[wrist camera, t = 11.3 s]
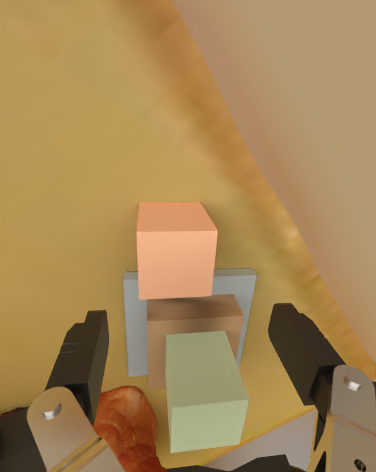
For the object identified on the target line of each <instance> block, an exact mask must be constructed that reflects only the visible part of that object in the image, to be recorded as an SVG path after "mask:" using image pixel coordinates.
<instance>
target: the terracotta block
mask: <svg viewBox="0 0 376 472" xmlns="http://www.w3.org/2000/svg"><path fill="white" fill-rule="evenodd" d="M136 233H137V260H138V287H139V300H144V299H165V298H185V297H205V296H211V294H212V284H213V274H214V264H215V254H216V245H217V235H218V230H217V229H216V227H215V225H214V224H213V222H212V220H211V219H210V217H209V215H208V214H207V212H206V210H205V209H204V207H203V205H202V204H201V202H139V210H138V221H137V231H136Z"/></svg>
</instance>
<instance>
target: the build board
mask: <svg viewBox="0 0 376 472" xmlns="http://www.w3.org/2000/svg"><path fill="white" fill-rule="evenodd" d="M256 278H257V275H256V273H255V272H254V270H253V269H252V268H247V269H214V274H213V284H212V294H211V295H221V294H234V297H235V299H236V301H237V303H238V305H239V307H240V309H241V311H242V313H243V315H244V318H243V323H242V329H241V334H240V340H239V346H238V351H237V357H236V363H237V366H238V367H240V362H241V357H242V352H243V346H244V341H245V336H246V331H247V325H248V320H249V315H250V309H251V304H252V299H253V294H254V288H255V283H256ZM123 290H124V306H125V323H126V340H127V357H128V374H129V377H133V376H144V375H148V357H147V299H144V300H139V287H138V272H124V276H123Z"/></svg>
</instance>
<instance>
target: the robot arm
mask: <svg viewBox="0 0 376 472" xmlns="http://www.w3.org/2000/svg"><path fill="white" fill-rule="evenodd" d="M268 333H269V338H270V341H271V343H272V345H273V346H274V348H275V350H276V352H277V354H278V356H279V358H280V360H281V362H282V364H283V366H284V368H285V370H286V371H287V373H288V375H289V377H290V379H291V381H292V383H293V385H294V387H295V389H296V391H297V393H298V395H299V396H300V398H301V400H302V402H303V404H304V406H306V405H315V406H316V408H317V413H316V418H315V425H314V433H313V440H312V448H311V455H310V461H309V465H308V469H307V472H376V382H373V381H371V380H370V379H369V377H368V376H367V375H365V374H364V373H363V372H362V371H360V370H358V369H357V368H354V367H352V366H348V365H346V364H345V362H344V361H343V360H342V359H341V357H340V356H339V355H338V353H337V352H336V351H335V349H334V348H333V347H332V346H331V344H330V343H329V342H328V340H327V339H326V338H324V335H323V334H322V333H321V331H319V329H318V327H317V326H316V325H315V324H314V322H313V321H312V320H311V319H309V318H308V317H307V316H305V315H304V314H303V313H299V312H298V311H297V310H296V308H295V307H294V306H293V304H291V303H278V304H274V306H273V310H272V314H271V318H270V323H269V327H268ZM108 346H109V332H108V322H107V312H106V310H97V311H88V313H87V316H86V319H85V323H75V324H74V325H73V327H72V328H71V329H70V330H69V331H68V332H67V334H66V336H65V339H64V342H63V345H62V347H61V349H60V354H59V355H58V357H57V360H56V362H55V365H54V368H53V370H52V373H51V376H50V378H49V381H48V383H47V386H46V388H45V390H44V392H42V393H41V394H40V395H38V396H37V397H36V398H35V399H34V400H33V402H32V403H31V405H30V406H29V407H27V408H25V409H23V410H21V411H19V412H16V413H14V414H11V415H8V416H6V417H3V418H0V472H125V471H124V469H123V468H122V466H121V465H120V463H119V461H118V460H117V458H116V456H115V455H114V453H113V451H112V450H111V448H110V446H109V445H108V443H107V442H106V441H105V439H104V438H102V437H101V438H99V437H98V435H97V434H96V432H95V430H94V429H93V427H92V425H94V424H95V419H96V413H97V408H98V402H99V397H100V391H101V386H102V380H103V375H104V369H105V364H106V359H107V353H108ZM166 472H306V471H304V470H302V469H300V468H297V467H294V466H291V465H289V463H288V460H287V457H286V455H285V454H284V455H276V456H268V457H260V458H256V459H254V460H252V461H250V462H248V463H246V464H244V465H242V466H240V467H238V468H237V469H234V470H232V471H224V470H219V469H214V468H208V467H203V466H198V465H195V466H187V467H179V468H171V469H166Z"/></svg>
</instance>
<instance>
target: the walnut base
mask: <svg viewBox="0 0 376 472" xmlns="http://www.w3.org/2000/svg"><path fill="white" fill-rule="evenodd" d="M243 318H244V315H243V313H242V311H241V309H240V307H239V305H238V303H237V301H236V299H235V297H234V294H221V295H211V296H205V297H185V298H165V299H147V357H148V389H156V388H166V379H165V369H166V335H170V334H184V333H199V332H214V331H225V332H226V335H227V338H228V341H229V343H230V346H231V349H232V352H233V355H234V357H235V360H236V357H237V351H238V346H239V340H240V334H241V329H242V323H243Z"/></svg>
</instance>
